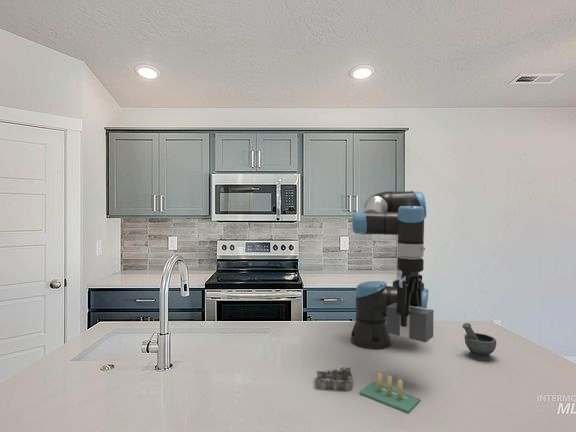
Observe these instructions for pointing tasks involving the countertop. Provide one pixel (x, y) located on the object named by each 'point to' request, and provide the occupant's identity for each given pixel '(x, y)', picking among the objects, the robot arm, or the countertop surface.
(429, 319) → the block
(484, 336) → the mortar and pestle
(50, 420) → the countertop surface
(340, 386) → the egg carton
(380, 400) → the board
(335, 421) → the countertop surface
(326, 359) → the countertop surface
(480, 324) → the countertop surface
